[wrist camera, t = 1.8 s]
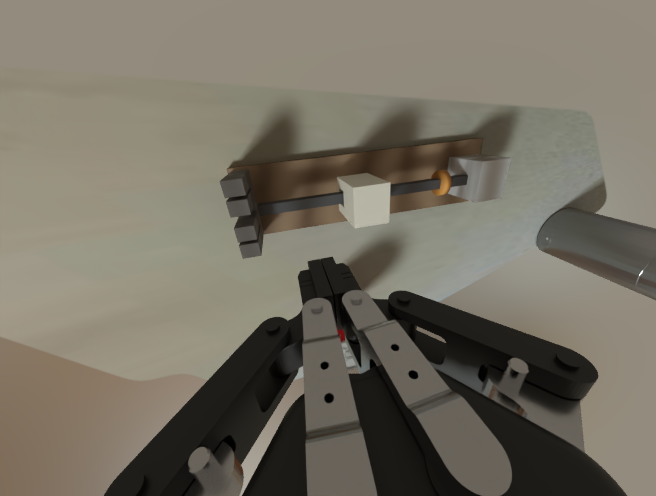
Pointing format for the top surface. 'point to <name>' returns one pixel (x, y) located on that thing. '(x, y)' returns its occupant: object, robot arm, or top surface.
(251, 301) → the top surface
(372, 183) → the sleeve
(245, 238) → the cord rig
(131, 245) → the top surface
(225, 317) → the top surface
